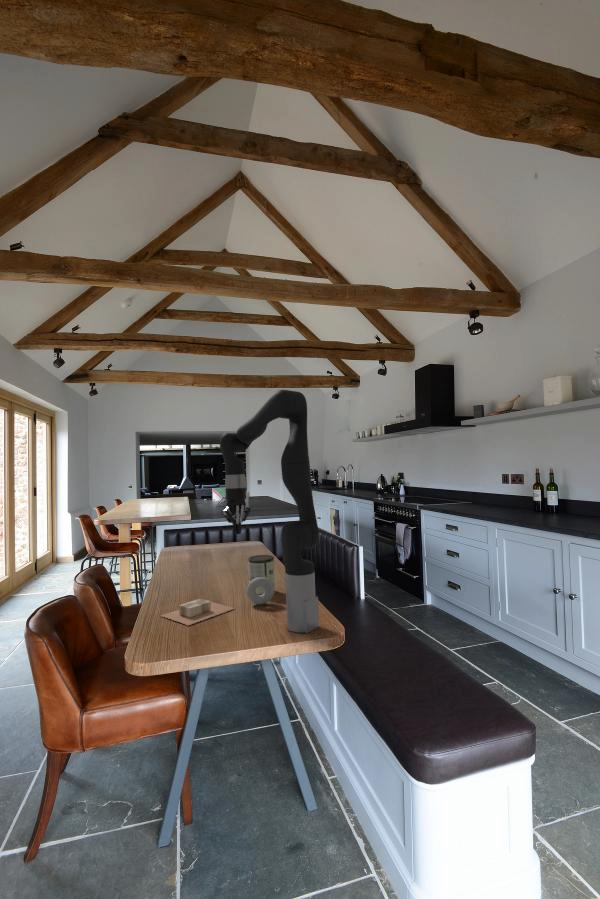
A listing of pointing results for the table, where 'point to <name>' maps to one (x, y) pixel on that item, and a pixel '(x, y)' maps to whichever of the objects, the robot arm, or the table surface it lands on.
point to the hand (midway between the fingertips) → (237, 534)
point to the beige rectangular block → (194, 608)
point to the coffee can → (261, 570)
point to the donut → (264, 597)
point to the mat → (215, 610)
